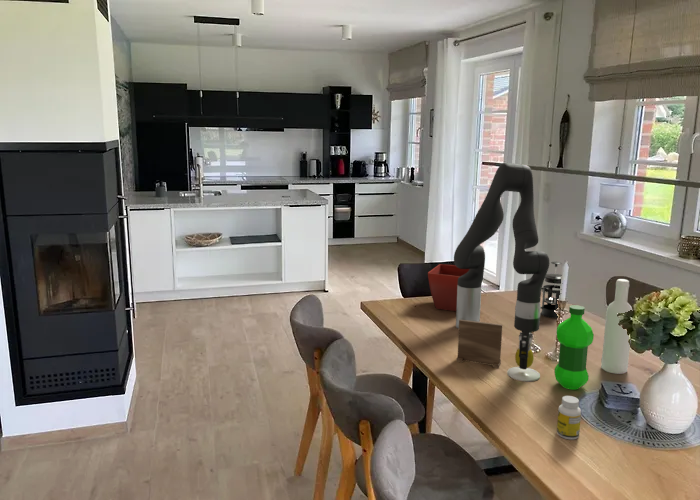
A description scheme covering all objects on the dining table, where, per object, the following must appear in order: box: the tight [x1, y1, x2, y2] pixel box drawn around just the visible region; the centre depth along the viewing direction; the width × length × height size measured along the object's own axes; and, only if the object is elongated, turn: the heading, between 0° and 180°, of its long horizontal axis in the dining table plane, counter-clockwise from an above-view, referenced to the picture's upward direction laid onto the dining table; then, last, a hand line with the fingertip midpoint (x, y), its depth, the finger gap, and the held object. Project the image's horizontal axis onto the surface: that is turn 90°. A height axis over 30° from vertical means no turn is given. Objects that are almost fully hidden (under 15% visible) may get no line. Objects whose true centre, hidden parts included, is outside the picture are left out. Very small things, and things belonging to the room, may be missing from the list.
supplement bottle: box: [556, 395, 582, 441], centre depth 144 cm, size 5×5×10 cm
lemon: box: [514, 348, 534, 368], centre depth 180 cm, size 6×6×8 cm
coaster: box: [506, 366, 541, 382], centre depth 181 cm, size 10×10×1 cm
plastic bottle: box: [554, 304, 594, 391], centre depth 170 cm, size 10×10×25 cm
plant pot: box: [427, 263, 469, 312], centre depth 250 cm, size 19×19×17 cm
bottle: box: [600, 278, 633, 375], centre depth 182 cm, size 8×8×30 cm
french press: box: [540, 261, 563, 319], centre depth 239 cm, size 12×9×23 cm
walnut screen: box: [455, 319, 503, 369], centre depth 189 cm, size 5×14×14 cm, turn 68°
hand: (523, 364), depth 180 cm, fingers closed on lemon, 5 cm apart
